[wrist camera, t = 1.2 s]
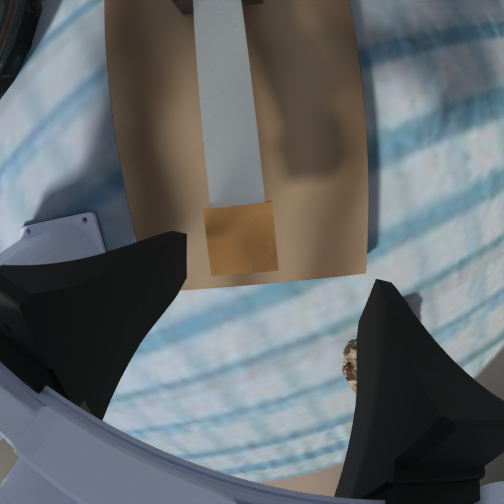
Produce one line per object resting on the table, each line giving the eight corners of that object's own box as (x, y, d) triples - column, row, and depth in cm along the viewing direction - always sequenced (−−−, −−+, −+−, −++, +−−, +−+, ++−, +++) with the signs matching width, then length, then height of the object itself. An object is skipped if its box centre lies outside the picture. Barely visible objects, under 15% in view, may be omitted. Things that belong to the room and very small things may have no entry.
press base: (158, 279, 24) (129, 332, 18) (115, 1, 15) (68, -29, 8) (358, 261, 23) (389, 312, 16) (332, -30, 14) (358, -76, 7)
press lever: (217, 266, 15) (211, 276, 14) (191, -23, 12) (185, -39, 10) (277, 260, 15) (278, 270, 13) (242, -31, 12) (239, -48, 10)
